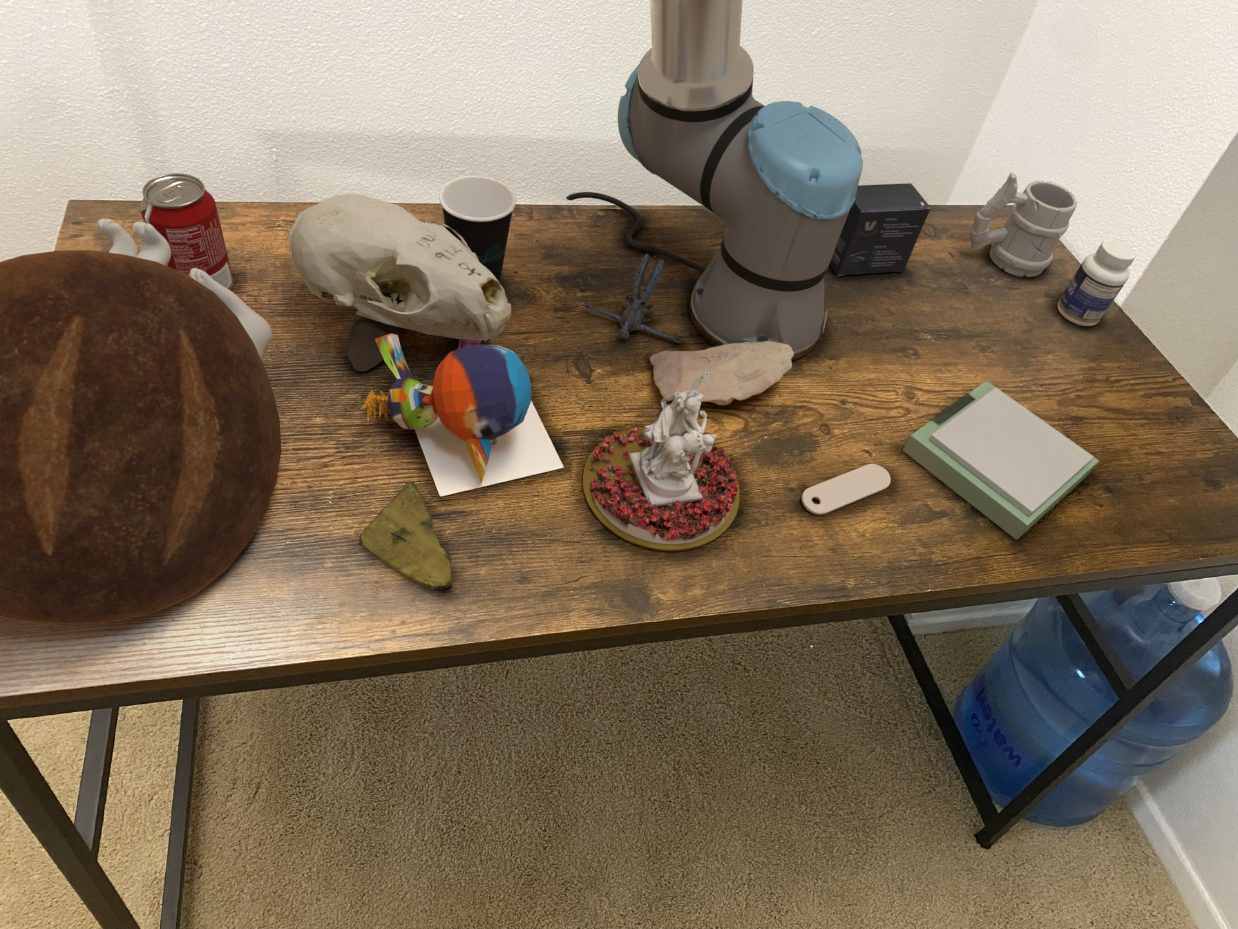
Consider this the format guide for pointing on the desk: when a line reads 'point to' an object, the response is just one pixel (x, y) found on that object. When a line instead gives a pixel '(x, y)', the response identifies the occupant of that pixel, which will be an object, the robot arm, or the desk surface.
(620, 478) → the figurine
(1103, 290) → the pill bottle
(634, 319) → the figurine
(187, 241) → the soda can
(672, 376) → the stone tool
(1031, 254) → the mug
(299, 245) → the skull
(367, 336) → the figurine
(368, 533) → the stone
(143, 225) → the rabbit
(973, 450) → the scale
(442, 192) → the dixie cup
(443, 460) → the thin white square sheet
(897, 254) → the box
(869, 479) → the keychain
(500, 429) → the toy
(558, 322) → the desk surface
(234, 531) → the bread
